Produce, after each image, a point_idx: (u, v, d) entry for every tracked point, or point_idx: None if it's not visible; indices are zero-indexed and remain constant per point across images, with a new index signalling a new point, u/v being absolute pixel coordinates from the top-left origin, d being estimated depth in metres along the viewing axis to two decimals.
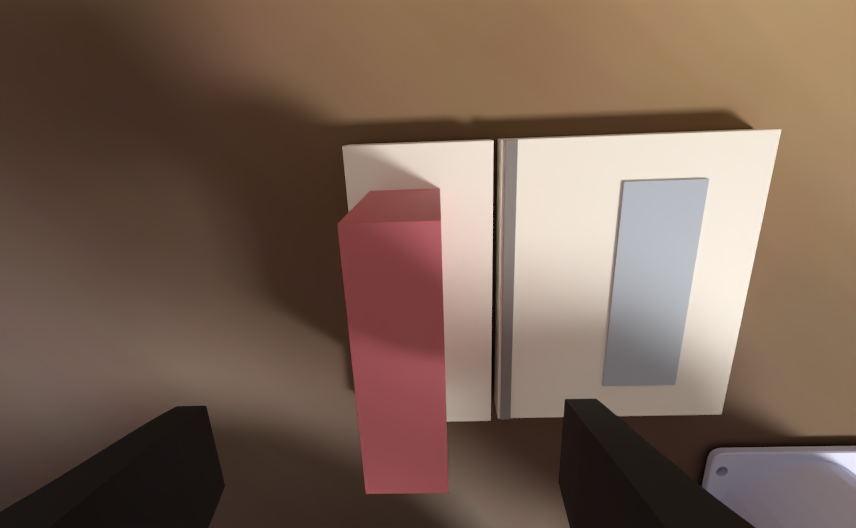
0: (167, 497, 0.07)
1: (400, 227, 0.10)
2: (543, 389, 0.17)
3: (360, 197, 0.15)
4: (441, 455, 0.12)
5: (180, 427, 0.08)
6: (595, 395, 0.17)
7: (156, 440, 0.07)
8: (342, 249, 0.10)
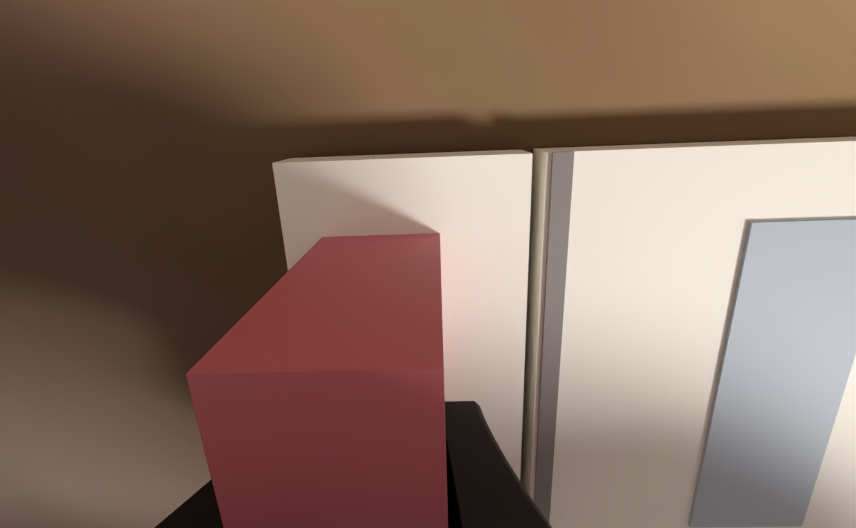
0: None
1: (343, 382, 0.04)
2: None
3: (307, 247, 0.09)
4: None
5: None
6: None
7: None
8: (203, 430, 0.04)
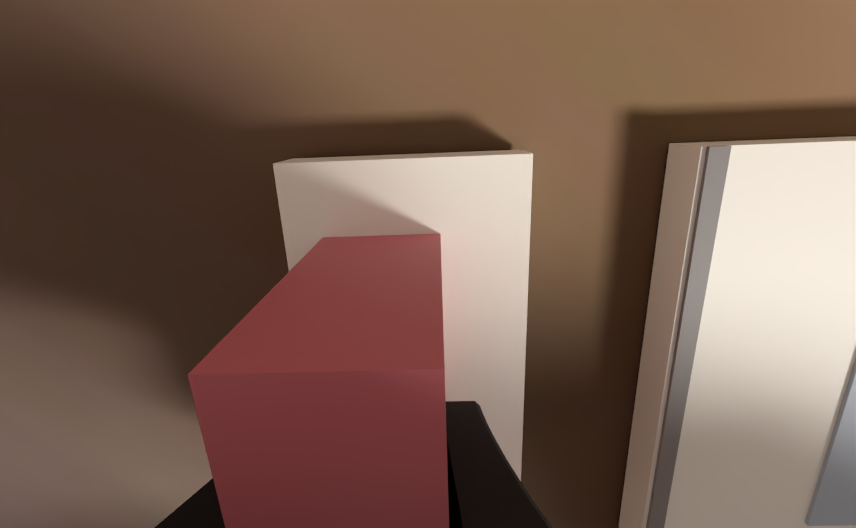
0: None
1: (343, 383, 0.04)
2: None
3: (307, 247, 0.09)
4: None
5: None
6: None
7: None
8: (205, 431, 0.04)
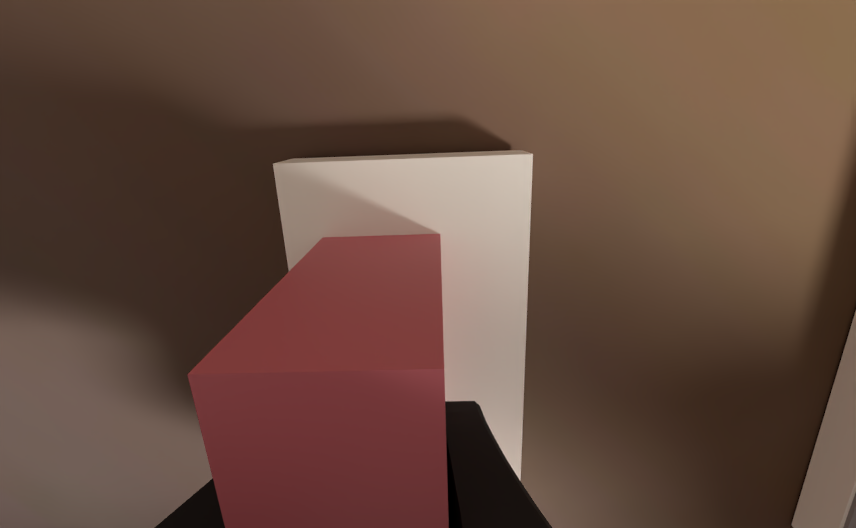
0: None
1: (343, 381, 0.04)
2: None
3: (307, 247, 0.09)
4: None
5: None
6: None
7: None
8: (205, 430, 0.04)
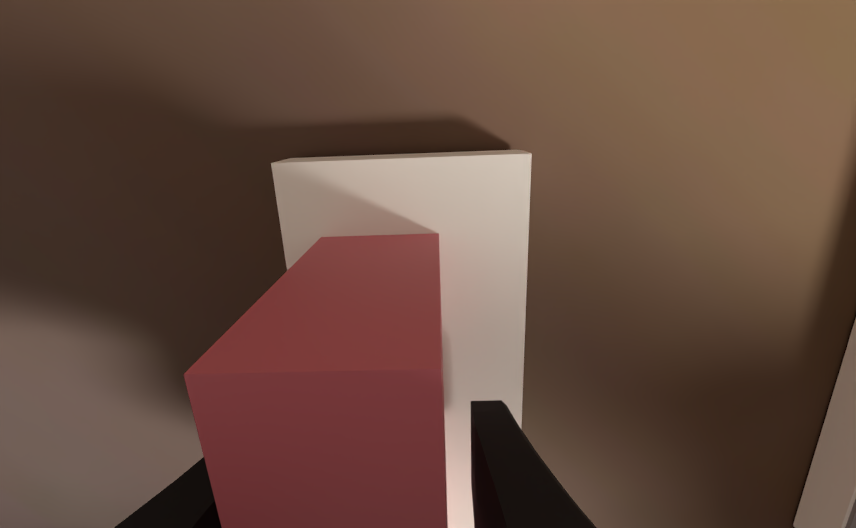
0: None
1: (339, 382, 0.04)
2: None
3: (306, 247, 0.09)
4: None
5: None
6: None
7: None
8: (202, 430, 0.04)
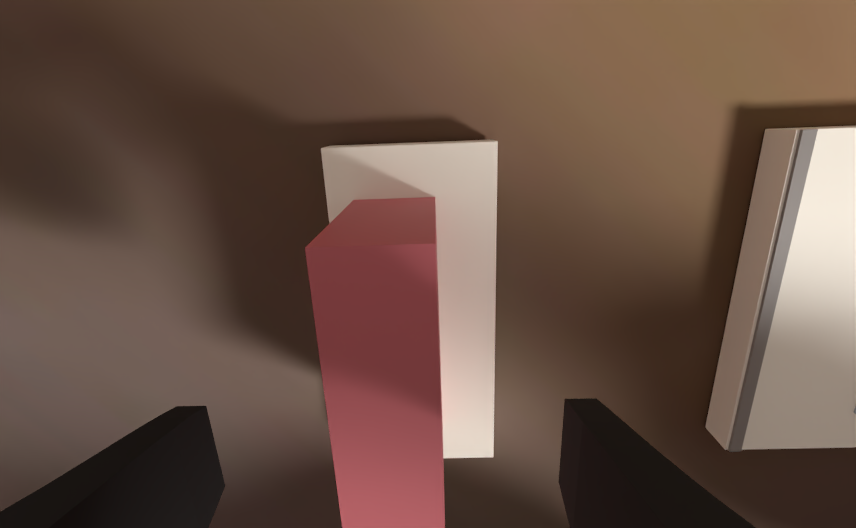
0: (167, 497, 0.07)
1: (384, 251, 0.08)
2: (784, 417, 0.15)
3: (343, 207, 0.13)
4: (437, 520, 0.10)
5: (180, 427, 0.08)
6: (843, 424, 0.15)
7: (156, 440, 0.07)
8: (312, 279, 0.08)
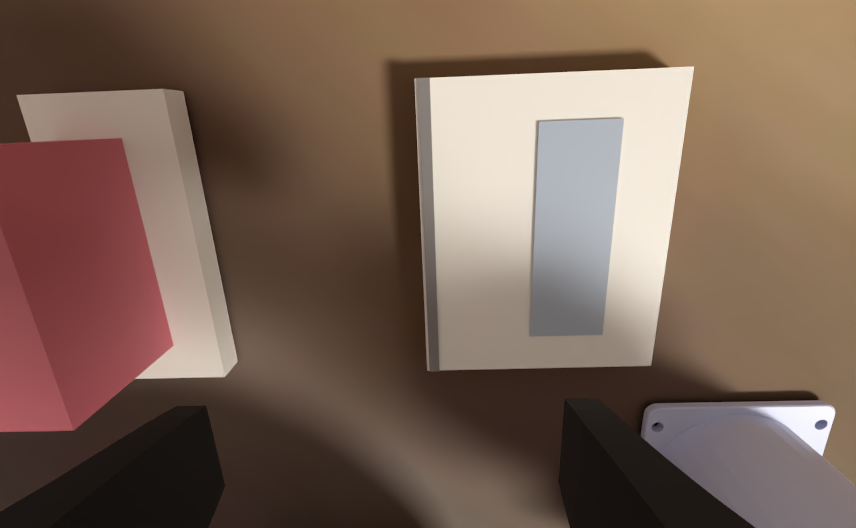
0: (167, 497, 0.07)
1: None
2: (471, 340, 0.17)
3: None
4: (54, 391, 0.12)
5: (180, 427, 0.08)
6: (523, 346, 0.17)
7: (156, 440, 0.07)
8: None
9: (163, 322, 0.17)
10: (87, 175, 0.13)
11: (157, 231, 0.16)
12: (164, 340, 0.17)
